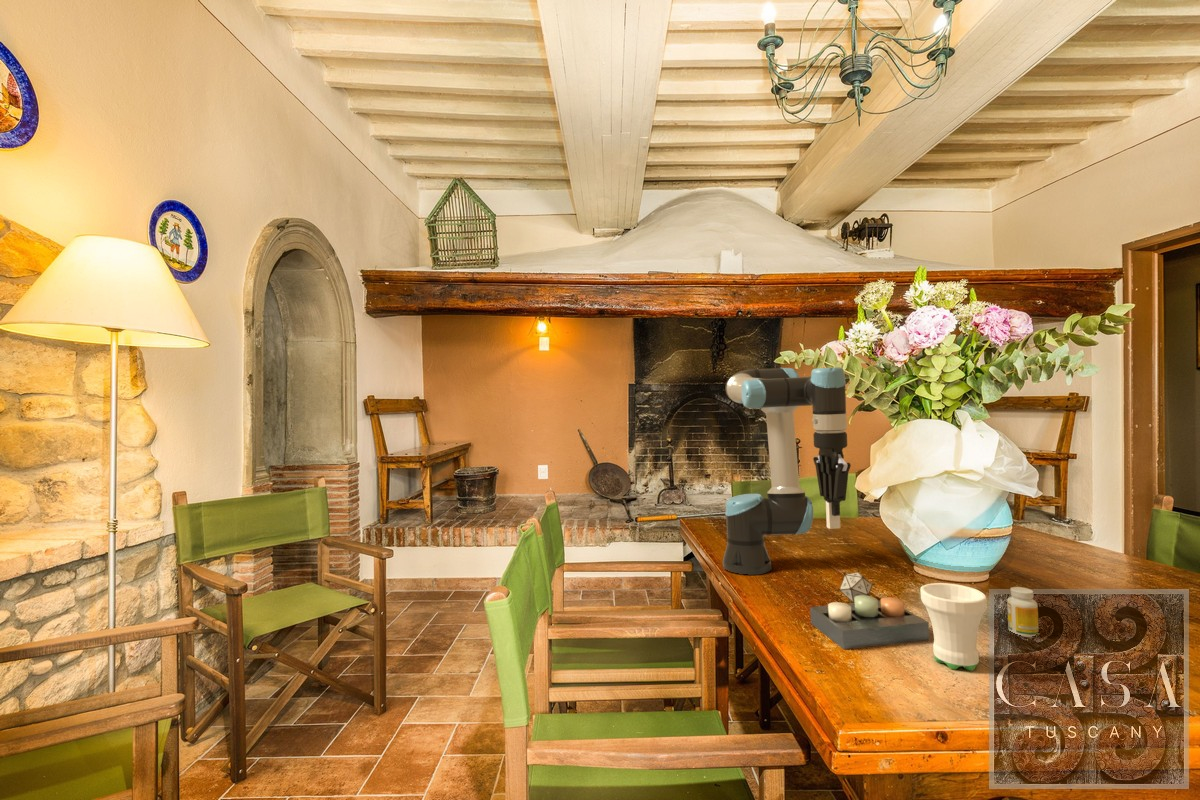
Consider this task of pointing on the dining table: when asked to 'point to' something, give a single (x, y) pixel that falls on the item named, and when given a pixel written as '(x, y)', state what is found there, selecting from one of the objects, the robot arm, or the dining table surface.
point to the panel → (870, 628)
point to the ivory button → (839, 612)
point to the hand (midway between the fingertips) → (833, 527)
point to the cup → (954, 622)
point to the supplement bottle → (1022, 612)
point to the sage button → (866, 606)
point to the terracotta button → (892, 607)
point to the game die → (855, 585)
